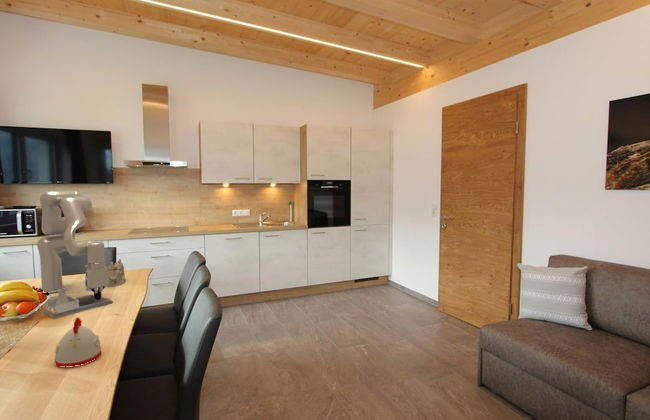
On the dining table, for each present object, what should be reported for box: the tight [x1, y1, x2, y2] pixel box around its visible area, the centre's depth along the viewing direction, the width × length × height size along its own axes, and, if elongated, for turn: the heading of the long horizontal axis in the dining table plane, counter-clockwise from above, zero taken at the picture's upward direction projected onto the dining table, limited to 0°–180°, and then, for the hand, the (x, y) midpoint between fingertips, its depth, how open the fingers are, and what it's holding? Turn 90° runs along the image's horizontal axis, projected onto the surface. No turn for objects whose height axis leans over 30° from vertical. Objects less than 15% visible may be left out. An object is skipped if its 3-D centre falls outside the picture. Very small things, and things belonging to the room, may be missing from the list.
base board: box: [42, 296, 114, 319], centre depth 178 cm, size 13×26×2 cm, turn 145°
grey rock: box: [106, 258, 127, 289], centre depth 218 cm, size 16×16×15 cm
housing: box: [46, 293, 95, 314], centre depth 176 cm, size 12×18×4 cm, turn 145°
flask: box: [53, 288, 69, 311], centre depth 172 cm, size 7×7×10 cm
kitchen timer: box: [54, 317, 102, 367], centre depth 129 cm, size 14×14×15 cm
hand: (97, 299), depth 185 cm, fingers closed
